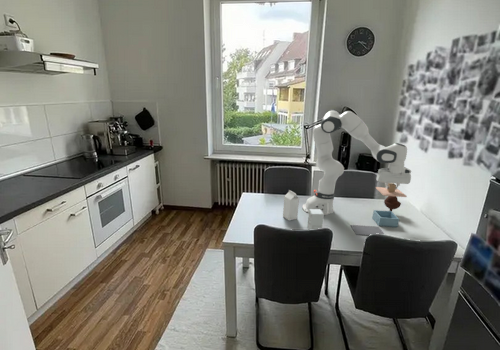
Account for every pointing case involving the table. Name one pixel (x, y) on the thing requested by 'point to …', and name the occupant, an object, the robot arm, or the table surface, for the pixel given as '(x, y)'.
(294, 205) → the milk carton
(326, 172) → the robot arm
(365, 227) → the mat
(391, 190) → the lid
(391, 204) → the brown toy tree
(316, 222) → the supplement box
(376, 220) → the dish
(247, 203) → the table surface
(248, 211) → the table surface
